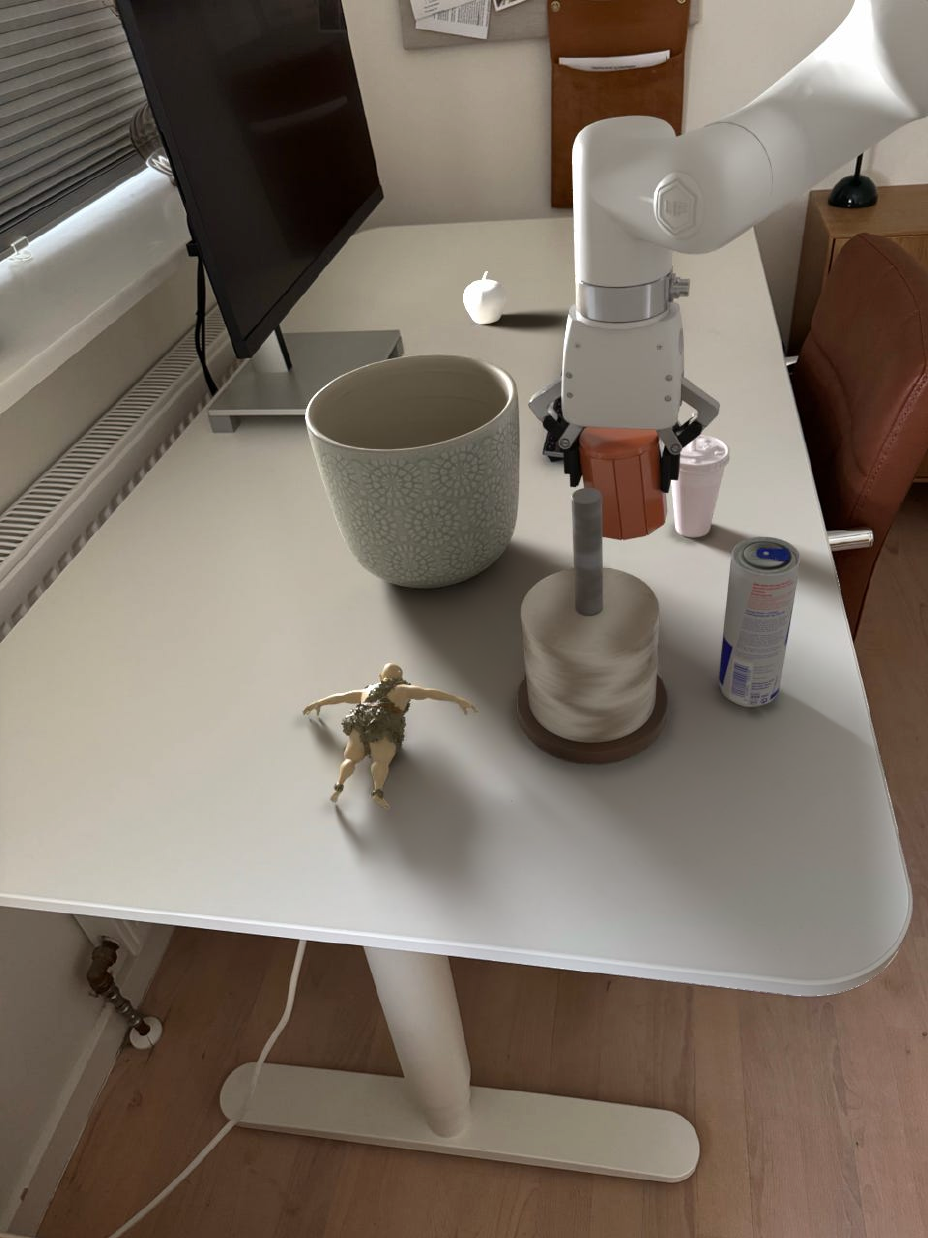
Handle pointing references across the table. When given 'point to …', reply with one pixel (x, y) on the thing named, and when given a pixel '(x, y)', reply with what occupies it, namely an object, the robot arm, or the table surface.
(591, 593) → the towel holder
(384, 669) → the figurine
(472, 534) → the planter
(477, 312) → the plain white apple
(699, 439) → the smoothie
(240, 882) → the table surface
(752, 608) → the beverage can
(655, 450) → the orange brown faceted cylinder
